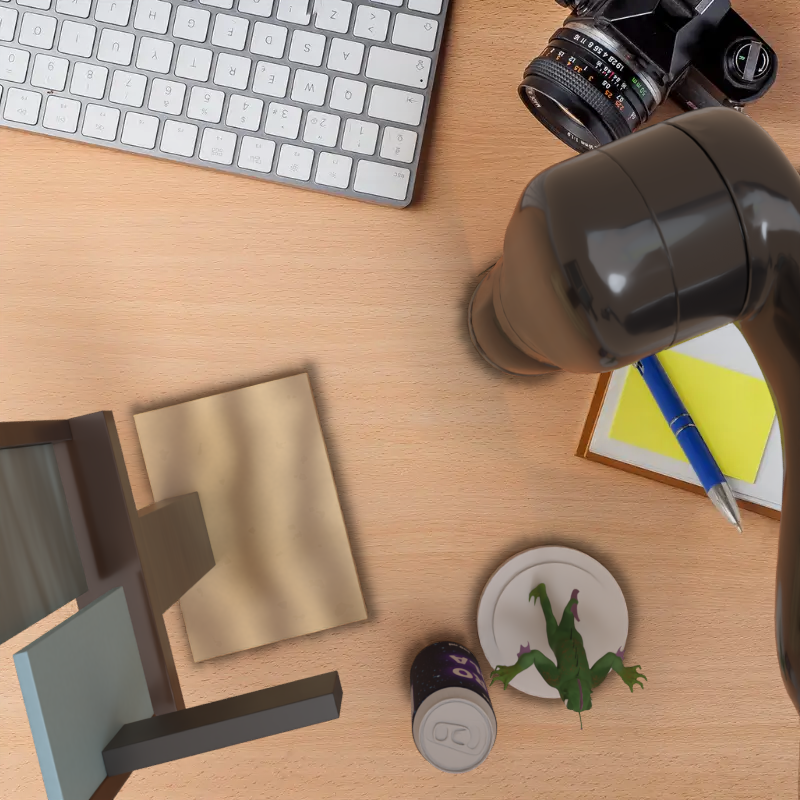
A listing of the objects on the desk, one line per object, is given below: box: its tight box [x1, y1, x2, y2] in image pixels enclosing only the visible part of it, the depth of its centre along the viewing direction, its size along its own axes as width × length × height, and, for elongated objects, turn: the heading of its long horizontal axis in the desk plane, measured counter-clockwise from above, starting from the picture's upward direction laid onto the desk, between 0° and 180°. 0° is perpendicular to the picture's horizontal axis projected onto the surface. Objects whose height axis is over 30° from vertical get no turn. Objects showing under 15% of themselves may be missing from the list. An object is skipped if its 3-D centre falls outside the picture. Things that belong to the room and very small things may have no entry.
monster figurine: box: [476, 544, 648, 731], centre depth 57 cm, size 12×12×10 cm
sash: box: [12, 586, 344, 800], centre depth 36 cm, size 11×8×11 cm
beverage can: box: [409, 640, 498, 775], centre depth 56 cm, size 6×6×12 cm
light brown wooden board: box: [133, 371, 369, 663], centre depth 61 cm, size 14×20×1 cm
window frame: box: [0, 409, 216, 800], centre depth 44 cm, size 4×19×34 cm, turn 14°
